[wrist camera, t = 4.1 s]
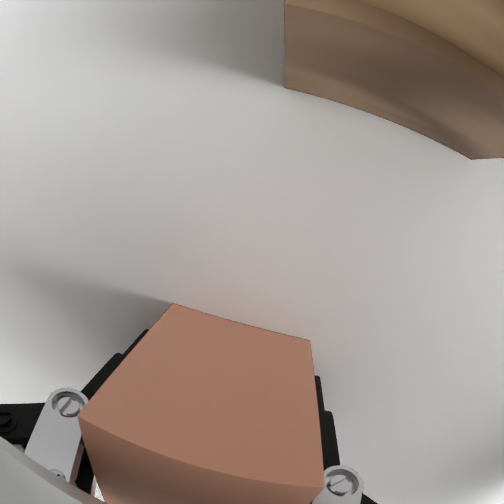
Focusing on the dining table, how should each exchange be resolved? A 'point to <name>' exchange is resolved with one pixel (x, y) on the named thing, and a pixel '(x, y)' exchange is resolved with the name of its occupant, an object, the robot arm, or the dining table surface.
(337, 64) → the tower base
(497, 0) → the block
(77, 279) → the dining table surface
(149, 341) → the terracotta block
